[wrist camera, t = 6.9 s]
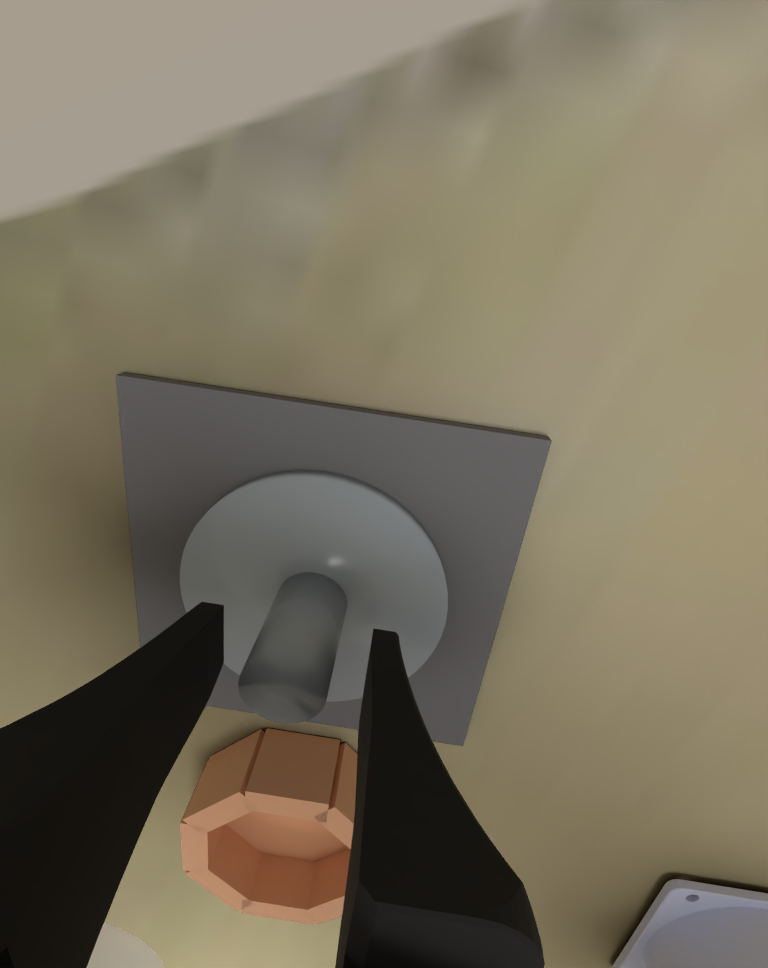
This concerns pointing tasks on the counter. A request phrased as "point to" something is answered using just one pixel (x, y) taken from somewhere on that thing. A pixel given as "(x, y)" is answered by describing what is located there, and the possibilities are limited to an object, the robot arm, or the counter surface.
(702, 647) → the counter surface
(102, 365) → the counter surface
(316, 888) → the bowl
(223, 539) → the lid
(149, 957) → the cylinder with rectangular tab
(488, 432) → the mat
